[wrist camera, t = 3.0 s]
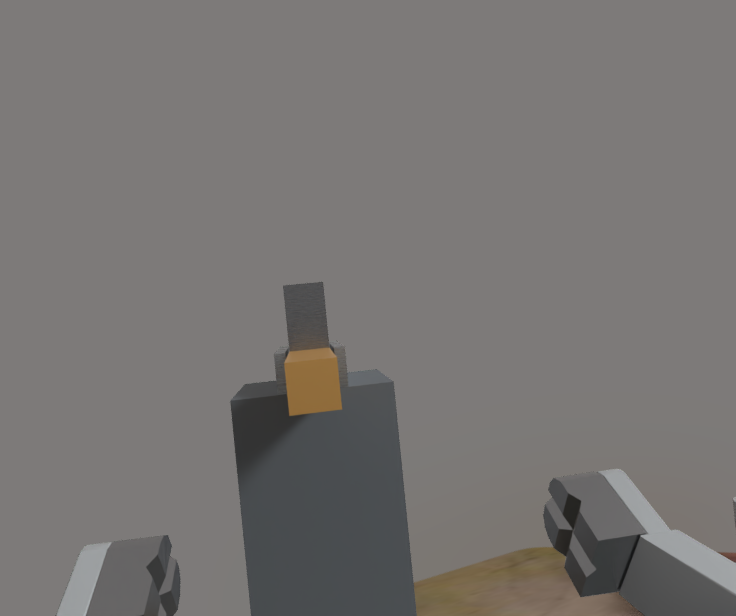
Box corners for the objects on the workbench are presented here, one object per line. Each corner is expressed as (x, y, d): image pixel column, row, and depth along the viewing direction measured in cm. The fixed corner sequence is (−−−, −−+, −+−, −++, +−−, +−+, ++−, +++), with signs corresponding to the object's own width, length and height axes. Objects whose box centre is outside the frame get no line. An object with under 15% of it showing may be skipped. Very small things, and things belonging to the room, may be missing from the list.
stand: (222, 769, 36) (183, 363, 36) (239, 679, 45) (207, 354, 45) (466, 719, 38) (428, 337, 38) (435, 643, 47) (405, 333, 47)
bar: (289, 415, 28) (275, 274, 28) (295, 378, 46) (287, 291, 46) (342, 409, 29) (328, 270, 29) (328, 374, 46) (320, 288, 46)
